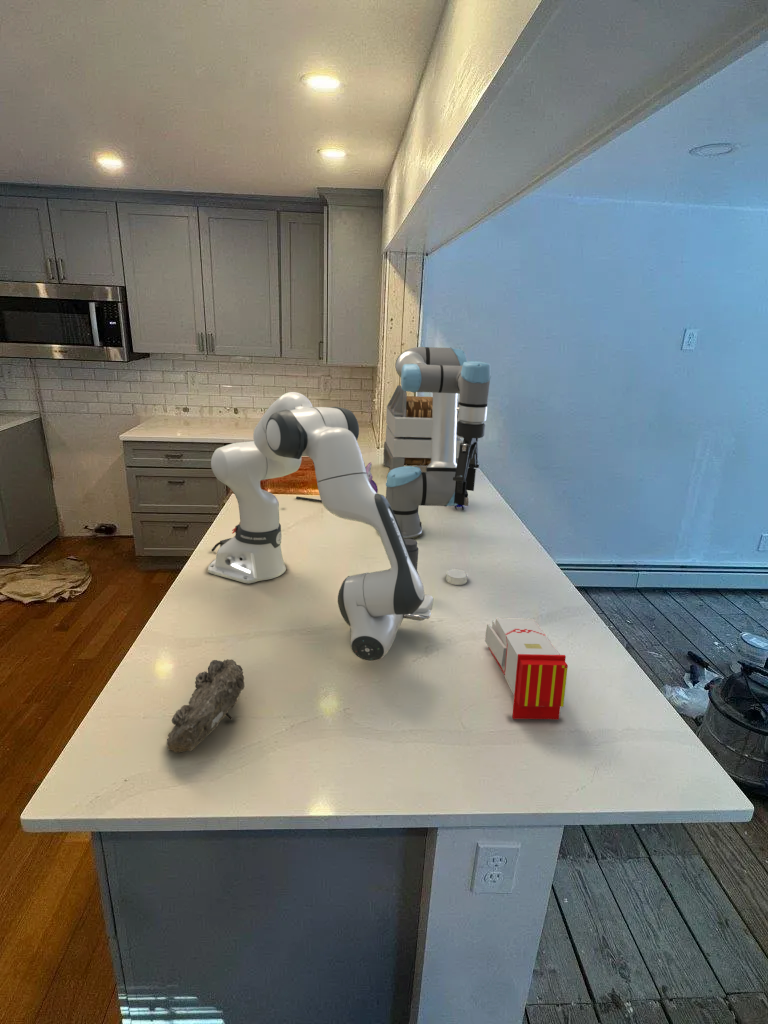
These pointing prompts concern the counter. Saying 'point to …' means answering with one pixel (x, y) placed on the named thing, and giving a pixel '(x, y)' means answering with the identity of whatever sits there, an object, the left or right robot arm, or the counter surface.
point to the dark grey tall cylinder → (412, 550)
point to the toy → (529, 667)
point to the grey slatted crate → (410, 431)
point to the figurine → (371, 477)
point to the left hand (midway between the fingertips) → (397, 586)
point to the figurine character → (464, 502)
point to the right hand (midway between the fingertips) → (464, 496)
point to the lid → (456, 576)
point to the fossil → (206, 705)
